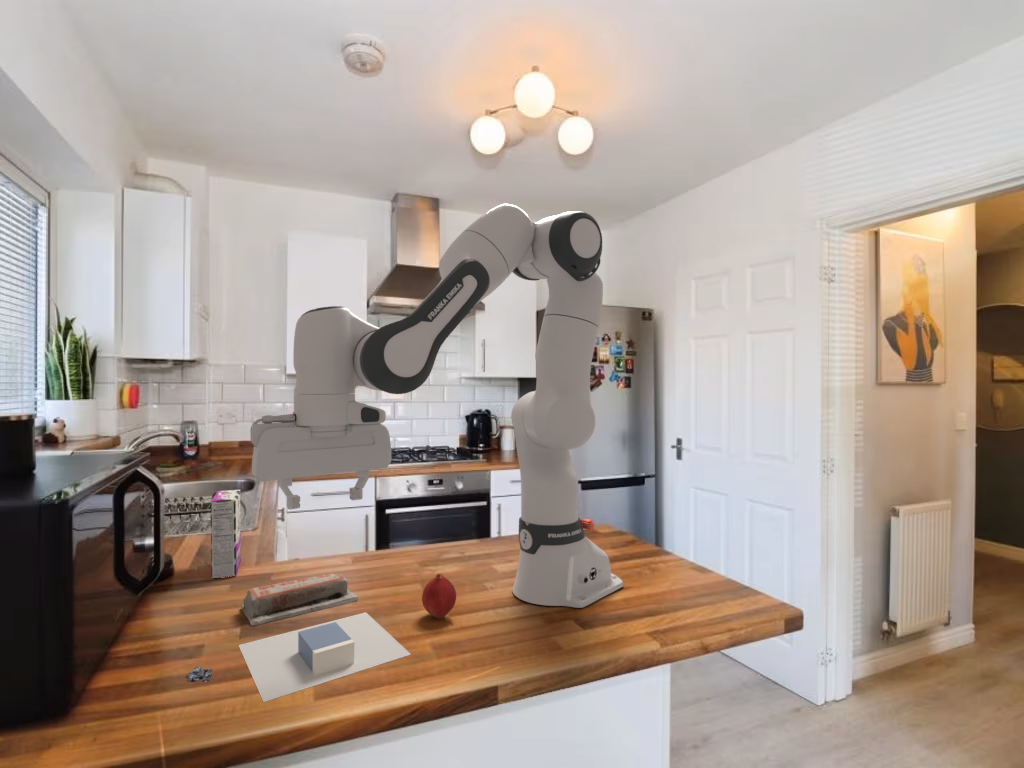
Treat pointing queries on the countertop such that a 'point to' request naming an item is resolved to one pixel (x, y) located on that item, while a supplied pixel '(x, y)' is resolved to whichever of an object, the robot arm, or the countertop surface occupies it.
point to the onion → (439, 596)
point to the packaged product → (296, 598)
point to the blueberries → (199, 674)
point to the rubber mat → (288, 673)
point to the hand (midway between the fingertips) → (325, 503)
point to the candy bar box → (225, 534)
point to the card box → (325, 648)
